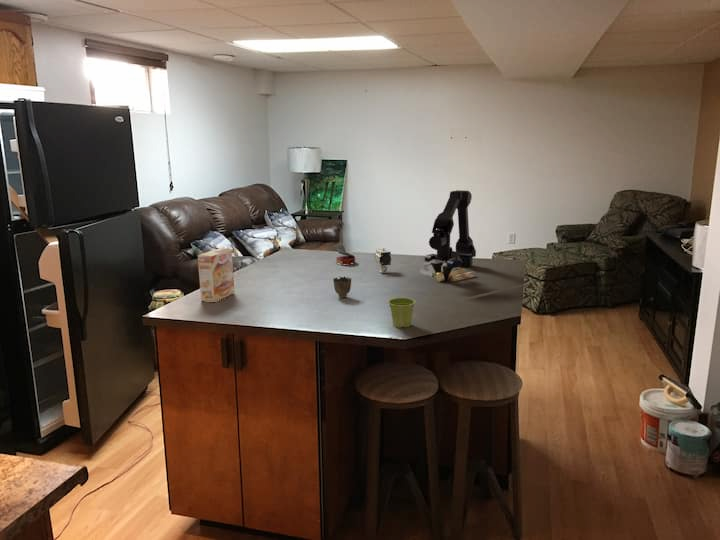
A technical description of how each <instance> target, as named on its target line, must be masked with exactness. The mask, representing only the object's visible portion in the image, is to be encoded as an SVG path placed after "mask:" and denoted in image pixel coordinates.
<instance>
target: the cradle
mask: <svg viewBox="0 0 720 540" xmlns="http://www.w3.org/2000/svg"><path fill="white" fill-rule="evenodd" d="M431 262H432V261H430V262H424V263H420V268H419V269H420V271H419V273H420V274H421V275H425V276H429V277H434V276H435V274H436V272H435V270H434V268H433V267H432V265H431V264H430V263H431ZM442 266H446V263H443V265H442ZM441 272H443V267H442V269H441Z"/></svg>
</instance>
